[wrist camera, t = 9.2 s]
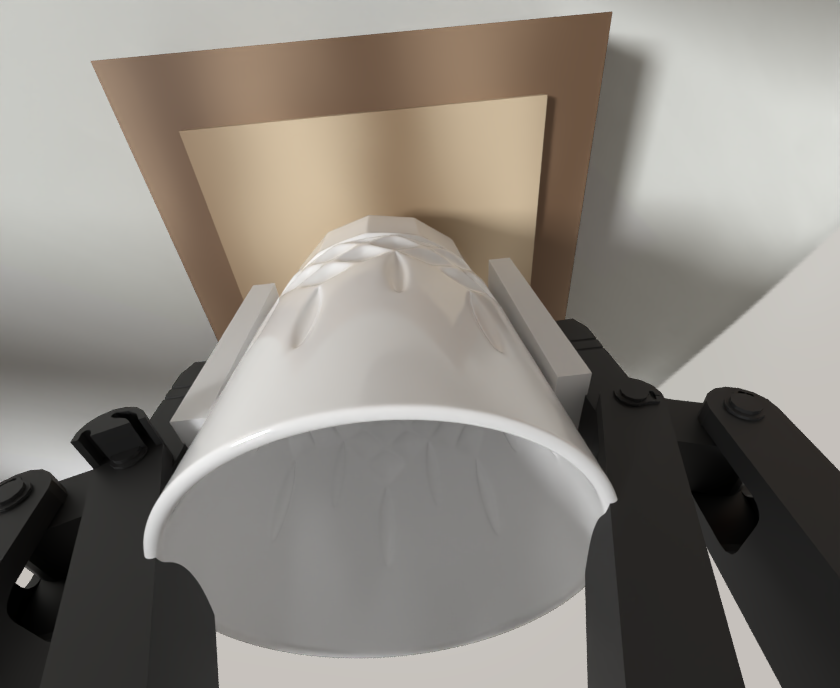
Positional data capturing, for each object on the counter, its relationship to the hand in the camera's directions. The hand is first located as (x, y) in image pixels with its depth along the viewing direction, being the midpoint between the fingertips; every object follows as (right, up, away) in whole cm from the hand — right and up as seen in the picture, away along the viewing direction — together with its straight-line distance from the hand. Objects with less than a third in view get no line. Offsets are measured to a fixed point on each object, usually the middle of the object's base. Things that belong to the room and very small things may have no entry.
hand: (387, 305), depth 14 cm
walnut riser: (0, +4, +5) cm, 7 cm away
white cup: (0, 0, +1) cm, 1 cm away
